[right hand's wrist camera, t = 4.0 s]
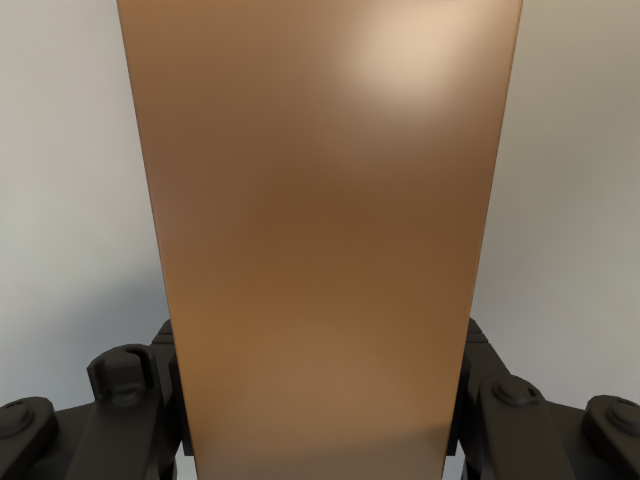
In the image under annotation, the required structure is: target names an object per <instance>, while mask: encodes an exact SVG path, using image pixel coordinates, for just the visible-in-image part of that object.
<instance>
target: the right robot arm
mask: <svg viewBox="0 0 640 480" xmlns="http://www.w3.org/2000/svg"><path fill="white" fill-rule="evenodd" d="M87 372H88V376H89V379H90V383H91V386H92V390H93V394H94V397H95V402H93V403H89V404H86V405H82V406H78V407H74V408H69V409H65V410H61V411H56V412H55V410H54V407H53V404H52V402H50V401H49V400H48V399H47V398H43V397H29V398H22V399H19V400H17V401H14V402H11V403H8V404H6V405H4V406H2V407H0V480H177V466H176V460H175V455H176V453H177V450H178V448H179V445H180V443H181V440H182V444H183V450H184V455H185V456H194V455H193V449H192V443H191V437H190V431H189V425H188V419H187V414H186V408H185V402H184V396H183V390H182V384H181V378H180V372H179V366H178V360H177V355H176V349H175V343H174V337H173V331H172V325H171V319H169V320H167V321H166V322H165V323H164V325H163V326H162V328H161V329H160V331H159V332H158V335H156V337H155V338H154V340H153V341H152V344H150V345H149V346H146V345H142V344H127V345H123V346H119V347H115V348H113V349H111V350H108V351H106V352H104V353H102V354H101V355H99V356H98V357H97V358H95V359H94V360H93V361H92V362H91V363H90V365H89V366H88V367H87ZM458 439H459V441H460V444H461V446H462V449H463V451H464V454H465V460H464V465H463V470H462V476H461V480H640V406H639V405H637V404H636V403H634V402H631V401H629V400H626V399H623V398H620V397H616V396H609V395H600V396H594V397H593V398H591V399H590V400H589V401H588V403H587V406H586V409H585V410H582V409H578V408H573V407H569V406H565V405H560V404H556V403H553V402H549V401H546V400H545V399H544V397H543V396H542V394H541V393H540V391H539V390H538V389H537V388H536V387H534V386H533V385H532V384H531V383H530V382H528V381H526V380H524V379H522V378H520V377H518V376H514V375H511V374H510V372H509V371H508V369H507V368H506V366H505V365H504V363H503V362H502V360H501V359H500V357H499V356H498V355H497V353H496V352H495V350H494V349H493V347H492V346H491V344H490V343H488V340H487V338H486V337H485V335H484V334H482V331H481V329H480V328H479V326H478V325H477V323H476V322H475V321H474V320H473V319H472V318H470V317H469V323H468V329H467V335H466V341H465V346H464V352H463V358H462V364H461V370H460V376H459V382H458V388H457V394H456V400H455V406H454V412H453V417H452V423H451V429H450V435H449V441H448V447H447V453H446V456H455V454H456V448H457V443H458Z"/></svg>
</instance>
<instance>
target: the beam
mask: <svg viewBox="0 0 640 480" xmlns="http://www.w3.org/2000/svg"><path fill="white" fill-rule="evenodd" d="M116 1H117V7H118V13H119V19H120V24H121V30H122V36H123V42H124V48H125V54H126V60H127V66H128V72H129V78H130V83H131V89H132V95H133V101H134V107H135V113H136V119H137V125H138V131H139V136H140V142H141V148H142V154H143V160H144V166H145V172H146V178H147V184H148V190H149V195H150V201H151V207H152V213H153V219H154V225H155V231H156V237H157V243H158V248H159V254H160V260H161V266H162V272H163V278H164V284H165V290H166V296H167V302H168V307H169V313H170V319H171V325H172V331H173V337H174V343H175V349H176V355H177V360H178V366H179V372H180V378H181V384H182V390H183V396H184V402H185V408H186V414H187V419H188V425H189V431H190V437H191V443H192V449H193V455H194V461H195V467H196V472H197V478H198V480H442V477H443V471H444V465H445V459H446V453H447V447H448V441H449V435H450V429H451V423H452V417H453V412H454V406H455V400H456V394H457V388H458V382H459V376H460V370H461V364H462V358H463V352H464V346H465V341H466V335H467V329H468V323H469V317H470V311H471V305H472V299H473V293H474V287H475V281H476V276H477V270H478V264H479V258H480V252H481V246H482V240H483V234H484V228H485V222H486V216H487V211H488V205H489V199H490V193H491V187H492V181H493V175H494V169H495V163H496V157H497V151H498V146H499V140H500V134H501V128H502V122H503V116H504V110H505V104H506V98H507V92H508V86H509V81H510V75H511V69H512V63H513V57H514V51H515V45H516V39H517V33H518V27H519V21H520V16H521V10H522V4H523V0H116Z"/></svg>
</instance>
